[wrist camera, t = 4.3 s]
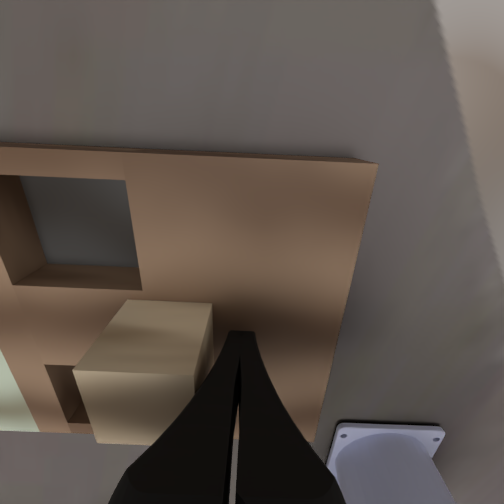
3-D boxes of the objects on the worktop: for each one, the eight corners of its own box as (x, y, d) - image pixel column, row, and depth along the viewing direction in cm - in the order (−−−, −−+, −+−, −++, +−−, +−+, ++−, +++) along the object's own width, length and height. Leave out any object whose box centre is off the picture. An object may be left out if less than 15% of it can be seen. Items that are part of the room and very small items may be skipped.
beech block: (213, 364, 14) (198, 447, 10) (139, 361, 14) (97, 443, 10) (212, 303, 12) (193, 375, 9) (127, 299, 12) (71, 370, 9)
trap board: (306, 404, 19) (313, 441, 17) (-11, 392, 19) (-48, 428, 16) (354, 158, 12) (378, 163, 10) (-153, 135, 12) (-253, 135, 9)
